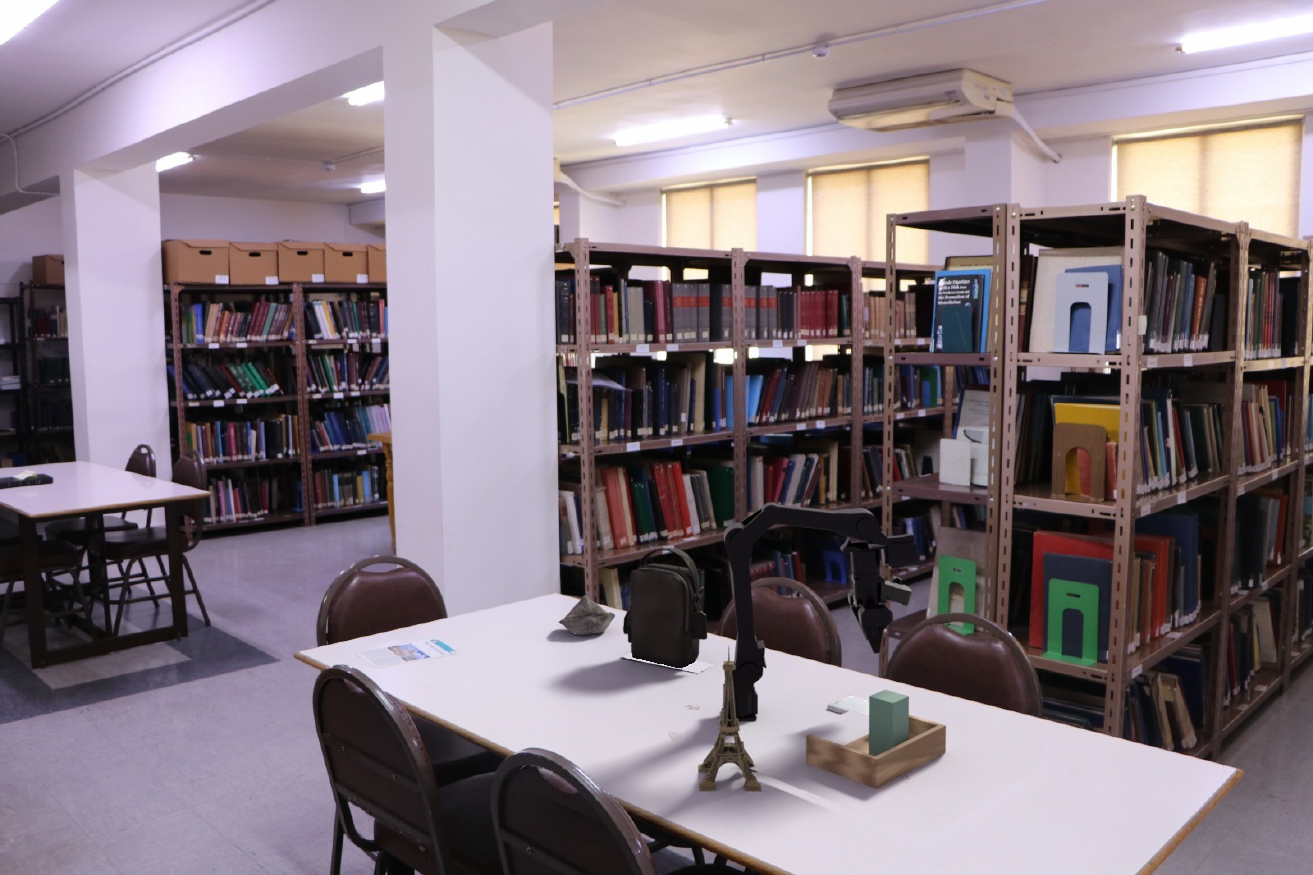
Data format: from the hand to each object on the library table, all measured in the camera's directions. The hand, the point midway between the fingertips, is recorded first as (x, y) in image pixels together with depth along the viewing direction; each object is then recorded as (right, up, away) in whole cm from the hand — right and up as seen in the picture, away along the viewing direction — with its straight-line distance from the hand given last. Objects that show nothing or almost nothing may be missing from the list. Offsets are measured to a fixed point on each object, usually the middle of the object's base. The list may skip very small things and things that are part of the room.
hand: (872, 646), depth 203 cm
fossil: (-63, -10, +66) cm, 92 cm away
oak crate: (-4, -17, -22) cm, 28 cm away
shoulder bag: (-41, -12, +40) cm, 59 cm away
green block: (-2, -16, -24) cm, 28 cm away
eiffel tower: (-31, -18, -28) cm, 45 cm away
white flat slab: (-1, -15, +4) cm, 16 cm away
